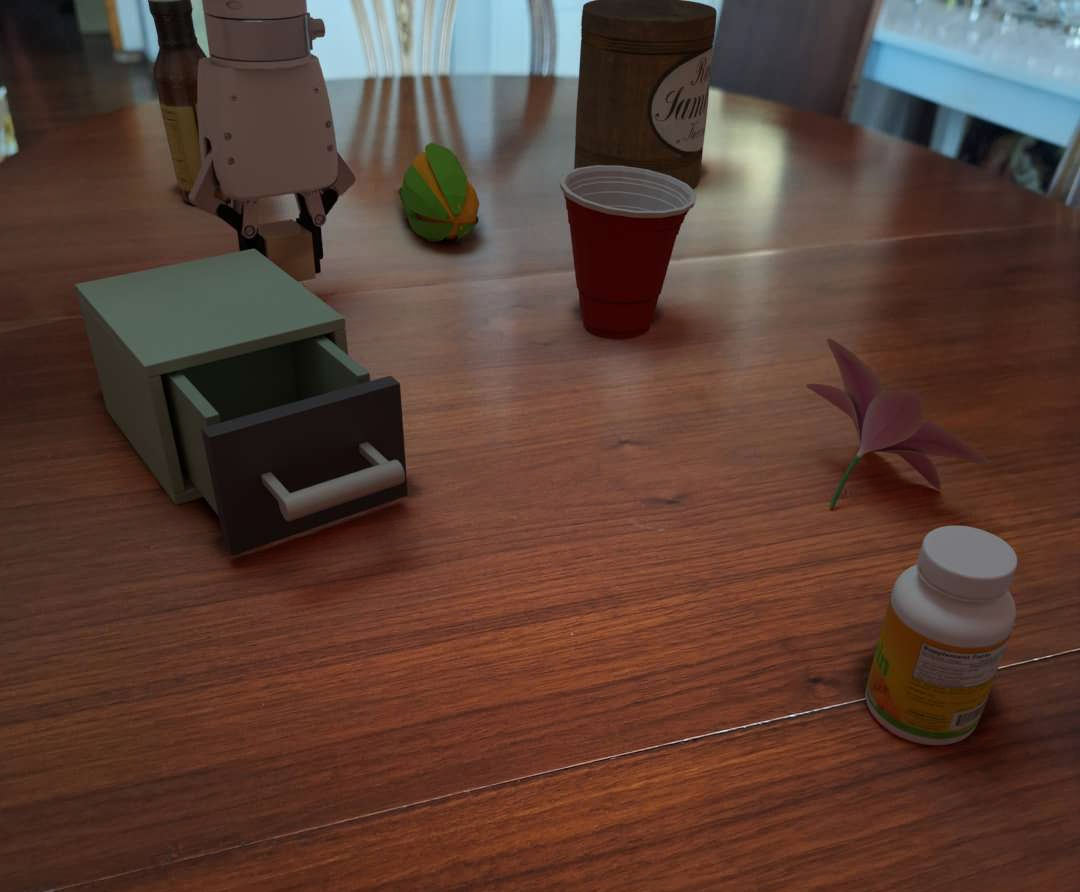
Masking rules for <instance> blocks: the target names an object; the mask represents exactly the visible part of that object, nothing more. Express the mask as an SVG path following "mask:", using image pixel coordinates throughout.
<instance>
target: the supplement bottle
mask: <svg viewBox="0 0 1080 892" xmlns="http://www.w3.org/2000/svg"><path fill="white" fill-rule="evenodd" d="M1017 567H1018V556H1017V554H1016V552H1015V550H1014V549H1013V547H1012V546H1011V545H1010V544H1008V542H1006V540H1004V539H1002V538H1001V537H999V536H998V535H996V534H993V533H991V532H988V531H986V530H984V529H981V528H976V527H973V526H967V525H945V526H941V527H937V528H934V529H932V530H931V531H929V532H928V533H927V534H926V535H925V537H924V538H923V540H922V543H921V547H920V549H919V553H918V557H917V561H916V564H914V565H912V566H910V567H909V568H907V569H905V570H904V571H903V572H901V574H900V575H899V576H898V577H897V578H896V581H895V582H894V585H893V588H892V590H891V593H890V596H889V601H888V605H887V608H886V612H885V616H884V620H883V622H882V623H883V624H882V628H881V631H880V635H879V639H878V642H877V646H876V649H875V653H874V657H873V660H872V663H871V667H870V671H869V674H868V678H867V682H866V687H865V695H864V696H865V701H866V705H867V708H868V709H869V711H870V713H871V715H872V716H873V717H874V718H875V720H876V721H877V722H878V723H879V724H880V725H881V726H883V727H884V729H886V730H887V731H889V732H890V733H891V734H893V735H896V736H897V737H899V738H901V739H903V740H906V741H908V742H912V743H915V744H921V745H925V746H946V745H952V744H957V743H959V742H961V741H963V740H965V739H967V738H968V737H969V736H970V735H971V734H972V733H974V731H975V729H976V728H977V726H978V724H979V721H980V720H981V717H982V714H983V711H984V709H985V706H986V704H987V701H988V698H989V695H990V692H991V689H992V687H993V684H994V682H995V679H996V676H997V673H998V670H999V667H1000V665H1001V663H1002V660H1003V656H1004V653H1005V651H1006V648H1007V646H1008V643H1009V641H1010V638H1011V635H1012V632H1013V629H1014V626H1015V622H1016V617H1017V608H1016V607H1017V606H1016V603H1015V600H1014V598H1013V595H1012V594H1011V593H1010V591H1009V590H1010V588H1011V586H1012V584H1013V581H1014V580H1013V579H1014V576H1015V573H1016V570H1017Z"/></svg>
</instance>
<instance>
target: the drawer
mask: <svg viewBox="0 0 1080 892" xmlns="http://www.w3.org/2000/svg"><path fill="white" fill-rule="evenodd" d="M160 376H161V380H162V385H163V389H164V394H165V398H166V403H167V408H168V412H169V417H170V421H171V426H172V430H173V435H174V440H175V444H176V449H177V453H178V458H179V463H180V467H181V468H182V470H183V471H184V472H185V474H186V475H187V476H188V477H189V479H190V480H191V481H192V482H193V484H194V485H195V486H196V488H197V489H198V490H199V491H200V493H201V494H202V495H203V497H202V498H204V499H205V501H206V502H207V503H208V505H209V506H210V507H211V509H212V510H213V511H214V512H215V513H216V515H217V516H218V520H219V525H220V530H221V534H222V540H223V545H224V548H226V550H227V551H228V552H229V554H230V555H231V556H233V557H234V556H236V555H239V554H243V553H244V552H248V551H250V550H254V549H257V548H259V547H263V546H266V545H268V544H272V543H274V542H277V541H280V540H283V539H286V538H289V537H292V536H294V535H297V534H300V533H303V532H306V531H309V530H313V529H314V528H318V527H320V526H323V525H326V524H330V523H332V522H335V521H339V520H341V519H344V518H347V517H350V516H352V515H355V514H359V513H362V512H365V511H368V510H371V509H373V508H376V507H379V506H383V505H386V504H388V503H391V502H393V501H396V500H399V499H402V498H406V497H408V495H409V493H408V492H409V491H408V477H407V476H408V475H407V462H406V449H405V437H404V435H405V433H404V422H403V421H404V420H403V405H402V392H401V383H400V382H399V381H398V380H397V379H395V378H394V377H393V376H392V375H388V376H384V377H380V378H377V379H373V380H371V376H370V372H369V371H368V370H367V369H365V368H364V367H363V366H362V365H361V364H360V363H358V362H357V361H355V360H354V359H353V358H352V357H351V356H349V354H348V355H347V354H346V353H345V352H343V351H342V350H341V349H340V348H338V347H337V346H336V345H335V344H334V343H332V342H331V341H330V340H329V339H327V338H326V337H325V336H324V335H323V334H322V335H318V336H314V337H310V338H306V339H302V340H298V341H294V342H290V343H286V344H282V345H278V346H274V347H270V348H266V349H262V350H258V351H254V352H250V353H246V354H242V355H238V356H234V357H230V358H226V359H222V360H218V361H214V362H210V363H206V364H202V365H198V366H194V367H189V368H185V369H181V370H177V371H173V372H169V373H165V374H161V375H160Z"/></svg>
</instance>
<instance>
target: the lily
mask: <svg viewBox="0 0 1080 892" xmlns="http://www.w3.org/2000/svg"><path fill="white" fill-rule="evenodd" d="M826 342H827V344H828V347H829V349H830V351H831V354H832V355H833V358H834V359H835V360H834V361H835V362H836V365H837V367H838V369H839V373H840V376H841V379H842V384H843V387H844V388H843V389H844V391H843V390H842V389H840V388H839V387H837V386H833V385H828V384H821V383H806V385H805V387H806V388H807V389H809V390H810V391H812V392H814V393H815V394H817V395H818V396H820V397H822V398H823V399H824V400H826V401H827V402H829V403H830V404H831V405H834V406H835V408H838V409H839V410H840V411H842V412H843V413H845V414H846V415H847V416H849V417H850V418H851V420H852V422H853V424H854V428H855V430H856V433H857V437H858V440H859V448H858V449H859V450H858V451H857V454H855V457H854V458H853V460H851V462H850V463H849V465H848V467H847V469H846V471H845V472H844V474H843V476H842V478H841V480H840V482H839V484H838V486H837V489H835V490H836V491H835V493H834V495H833V497H832V500H831V502H830V504H829V506H828V508H830V509H832V510H834V509H835V506H836V504H837V503H838V500H839V497H840V495H841V492H842V491H843V489H844V487H845V485H846V483H847V480H848V479H849V477H850V475H851V473H852V472H853V470H854V468H855V467H856V466H857V464H858V462H859V461H860V460H861V458H862V457H863V456H864V455H865V454H869V453H887V454H888V453H889V454H893V455H898V456H899V457H900V458H902V459H903V460H904V461H905V462H907V464H908V465H910V466H911V467H912V468H913V469H914V470H915V471H917V472H918V473H919V475H921V476H922V477H923V478H924V479H925V480H926V481H927V482H928V483H929V484H930V485H931V486H933V488H934V489H936V490H937V491H940V490H941V489H942V486H941V480H940V477H939V474H938V471H937V468H936V466H935V464H934V462H933V461H932V460H931V458H929V457H928V456H932V457H941V458H942V457H944V458H951V459H958V460H962V461H965V462H970V463H974V464H977V465H982V466H987V467H990V466H992V464H991V462H990V460H989V459H988V458H987V457H985V455H984V454H982V453H981V452H980V451H979V450H978V449H977V448H976V447H974V446H973V445H972V444H970V443H969V442H968V441H966V440H965V439H964V438H962V437H961V436H959V435H958V434H956V433H955V432H954V431H952V430H950V429H948V428H947V427H944V426H943V425H941V424H940V423H937V422H933V421H930V420H926V419H924V418H925V413H924V412H925V411H924V409H925V408H924V404H923V401H922V398H921V397H920V395H919V394H918V393H917V392H915V391H913V390H908V389H889V390H886V387H885V386H884V385H883V383H882V381H881V379H880V378H879V377H878V375H877V374H876V373H875V372H874V371H873V370H872V369H871V367H869V366H868V365H867V364H866V363H865V362H864V361H863V360H862V359H860V358H859V357H858V356H856V354H854V353H853V352H852V351H850V350H849V349H847V348H846V347H845V346H844V345H842V344H840V343H839V342H837V341H836V340H834V339H832V338H829V337H828V338H827V339H826Z"/></svg>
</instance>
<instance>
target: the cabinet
mask: <svg viewBox="0 0 1080 892" xmlns="http://www.w3.org/2000/svg"><path fill="white" fill-rule="evenodd" d="M74 288H75V292H76V295H77V300H78V304H79V307H80V311H81V315H82V319H83V323H84V328H85V331H86V334H87V339H88V342H89V346H90V350H91V355H92V357H93V363H94V365H95V366H94V367H95V370H96V374H97V377H98V382H99V385H100V389H101V393H102V397H103V401H104V404H105V408H106V412H107V414H108V415H109V416H110V417H111V419H112V420H113V421H114V423H115V424H116V425H117V427H118V428H119V429H120V431H121V432H122V434H123V435H124V437H125V438H126V439H127V441H128V442H129V443H130V445H131V446H132V447H133V449H134V450H135V451H136V453H137V455H138V456H139V457H140V458H141V460H142V462H143V463H144V464H145V465H146V466H147V468H148V470H149V471H150V472H151V473H152V474H153V476H154V477H155V479H156V480H157V481H158V483H159V484H160V485H161V487H162V488H163V490H164V491H165V493H166V494H167V495H168V497H169V498H170V499H171V500H172V502H173V503H174V505H175V506H179V505H181V504H185V503H189V502H191V501H195V500H198V499H202V498H204V497H203V495H202V494H201V493H200V491H199V490H198V489H197V488H196V486H195V485H194V484H193V482H192V481H191V480H190V479H189V477H188V476H187V475H186V474H185V472H184V471H183V470H182V468H181V467H180V463H179V458H178V453H177V449H176V444H175V440H174V435H173V430H172V426H171V421H170V417H169V412H168V408H167V403H166V398H165V394H164V389H163V385H162V380H161V376H160V375H161V374H165V373H169V372H173V371H177V370H181V369H185V368H189V367H194V366H198V365H202V364H206V363H210V362H214V361H218V360H222V359H226V358H230V357H234V356H238V355H242V354H246V353H250V352H254V351H258V350H262V349H266V348H270V347H274V346H278V345H282V344H286V343H290V342H294V341H298V340H302V339H306V338H310V337H314V336H318V335H322V334H323V335H324V336H325V337H326V338H327V339H329V340H330V341H331V342H332V343H334V344H335V345H336V346H337V347H338V348H340V349H341V350H342V351H343V352H345V353H346V354H347V355H348V356H349V349H348V340H347V339H348V338H347V329H346V318H345V317H344V316H343V315H342V314H340V313H339V312H338V311H337V310H335V309H334V308H332V307H331V306H330V305H329V304H327V303H326V302H325V301H323V299H321V298H320V297H318V296H317V295H316V294H314V293H313V292H312V291H311V290H309V289H308V288H307V287H305V286H304V285H303V284H302V283H300V282H297V281H296V280H295V279H293V278H292V277H291V276H290V275H288V274H287V273H286V272H284V271H283V270H282V269H280V268H279V267H278V266H277V265H275V264H274V263H273V262H271V261H270V260H269V259H267V258H266V257H265V256H264V255H262V254H261V253H260V252H258V251H257V250H256V249H249V250H244V251H240V250H239V251H235V252H230V253H224V254H220V255H215V256H209V257H205V258H199V259H195V260H189V261H184V262H180V263H175V264H170V265H163V266H159V267H153V268H150V269H146V270H145V269H144V270H139V271H134V272H129V273H124V274H120V275H115V276H109V277H104V278H100V279H95V280H89V281H84V282H79V283H75V284H74Z"/></svg>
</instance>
